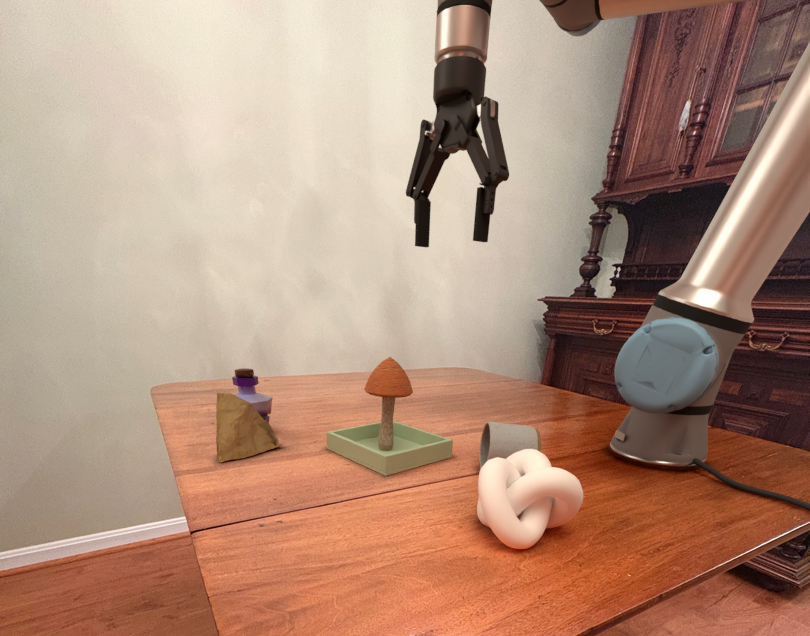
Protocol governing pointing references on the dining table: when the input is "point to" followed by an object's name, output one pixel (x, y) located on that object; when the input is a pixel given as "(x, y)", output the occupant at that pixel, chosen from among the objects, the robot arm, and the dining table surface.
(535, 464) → the white knot sculpture
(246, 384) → the potion bottle
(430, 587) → the dining table surface
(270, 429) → the rock
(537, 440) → the ceramic mug
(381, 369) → the mushroom
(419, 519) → the dining table surface
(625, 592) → the dining table surface
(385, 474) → the tray
